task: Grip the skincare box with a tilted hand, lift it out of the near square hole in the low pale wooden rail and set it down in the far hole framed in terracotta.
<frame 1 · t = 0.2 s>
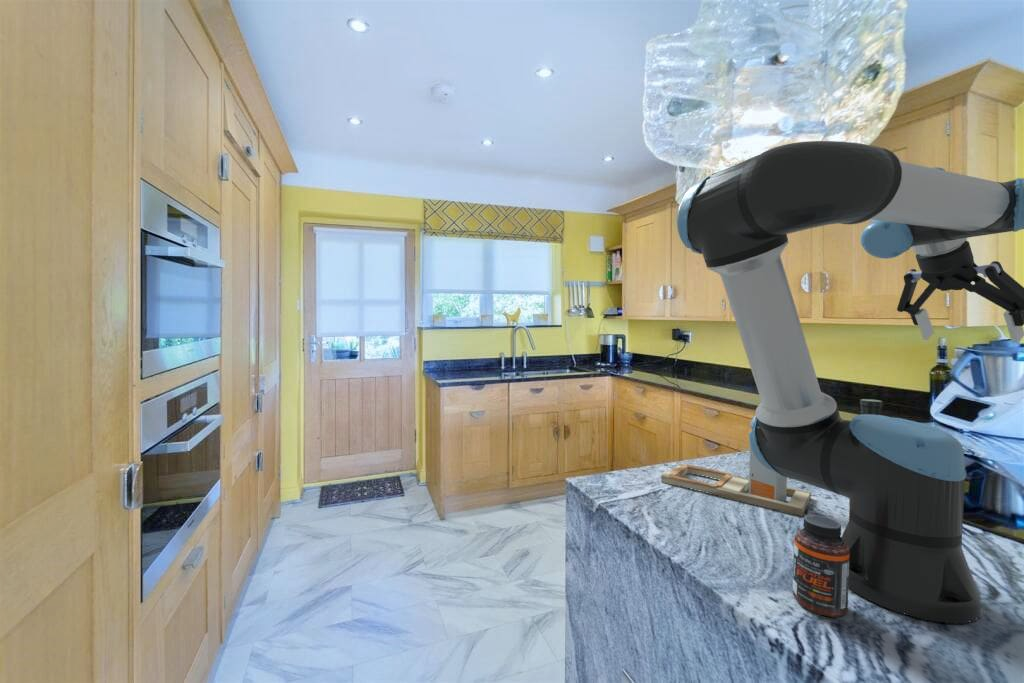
hand: (970, 337, 87), 35 cm above the worktop, tool tilted 35°, fingers open, 13 cm apart
supplement bottle: (819, 605, 56), on the worktop
skincare box: (767, 499, 92), resting in socket rail
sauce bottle: (869, 484, 100), on the worktop
socket rail: (732, 489, 96), on the worktop
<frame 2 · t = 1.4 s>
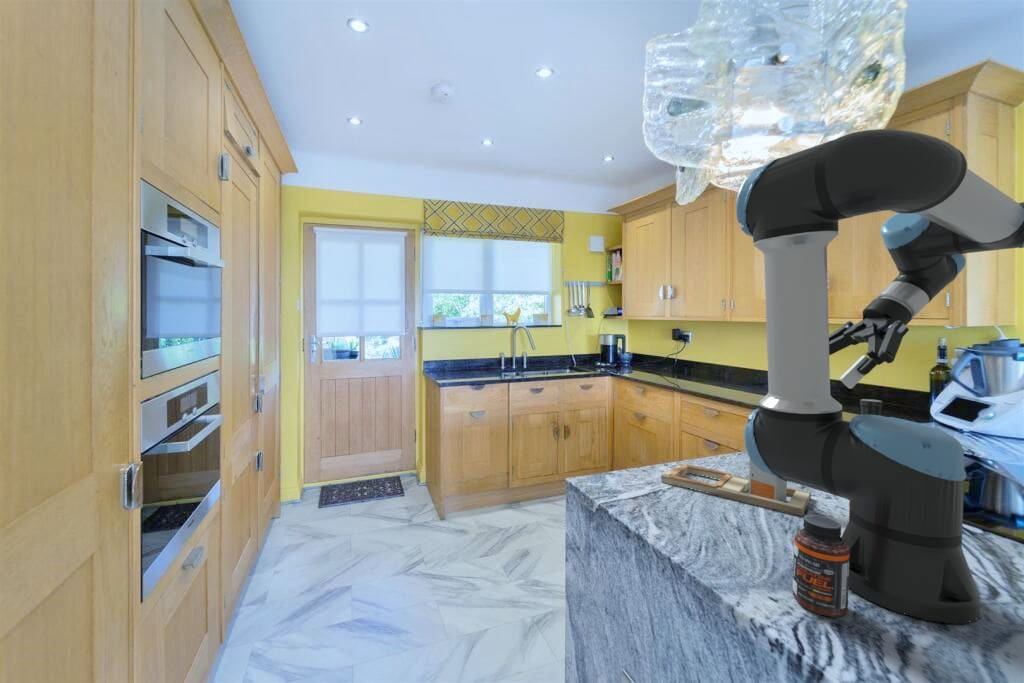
hand: (820, 379, 91), 26 cm above the worktop, tool tilted 45°, fingers open, 13 cm apart
nothing on the worktop moved.
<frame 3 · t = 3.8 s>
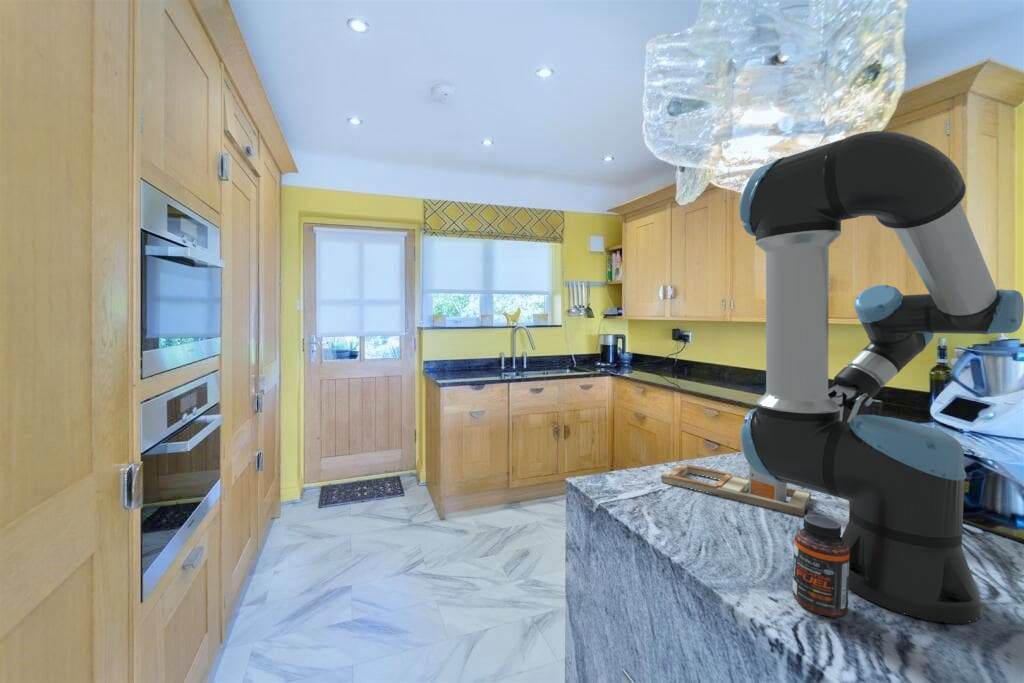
hand: (791, 446, 92), 11 cm above the worktop, tool tilted 45°, fingers open, 13 cm apart
nothing on the worktop moved.
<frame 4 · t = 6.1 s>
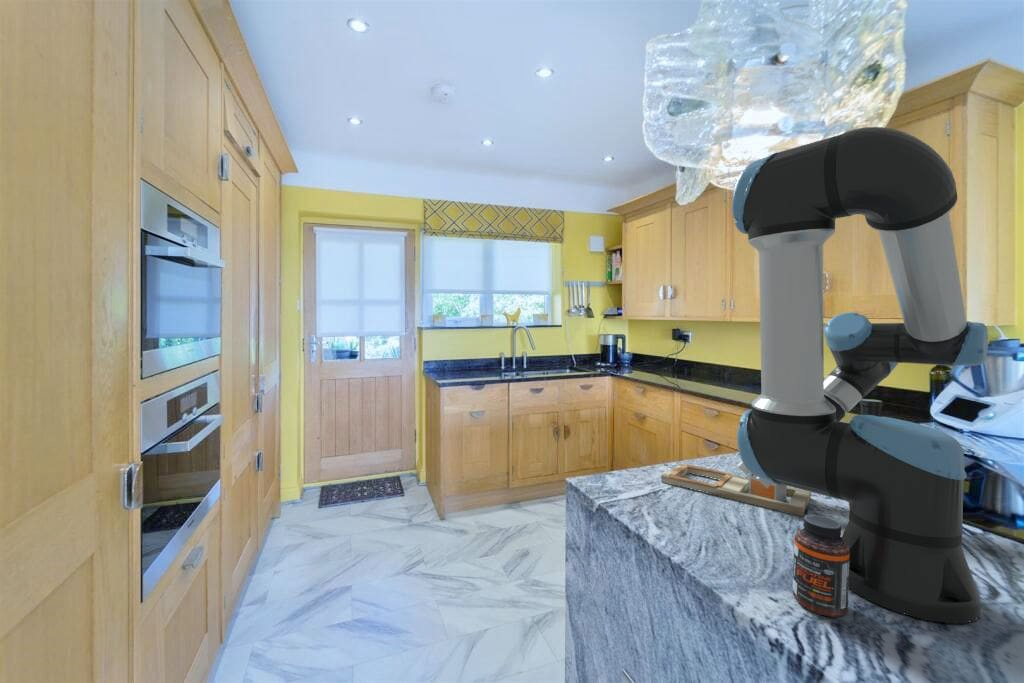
hand: (751, 476, 91), 5 cm above the worktop, tool tilted 45°, fingers closed on skincare box, 7 cm apart
skincare box: (767, 498, 92), resting in socket rail, touching gripper
everything else where it was.
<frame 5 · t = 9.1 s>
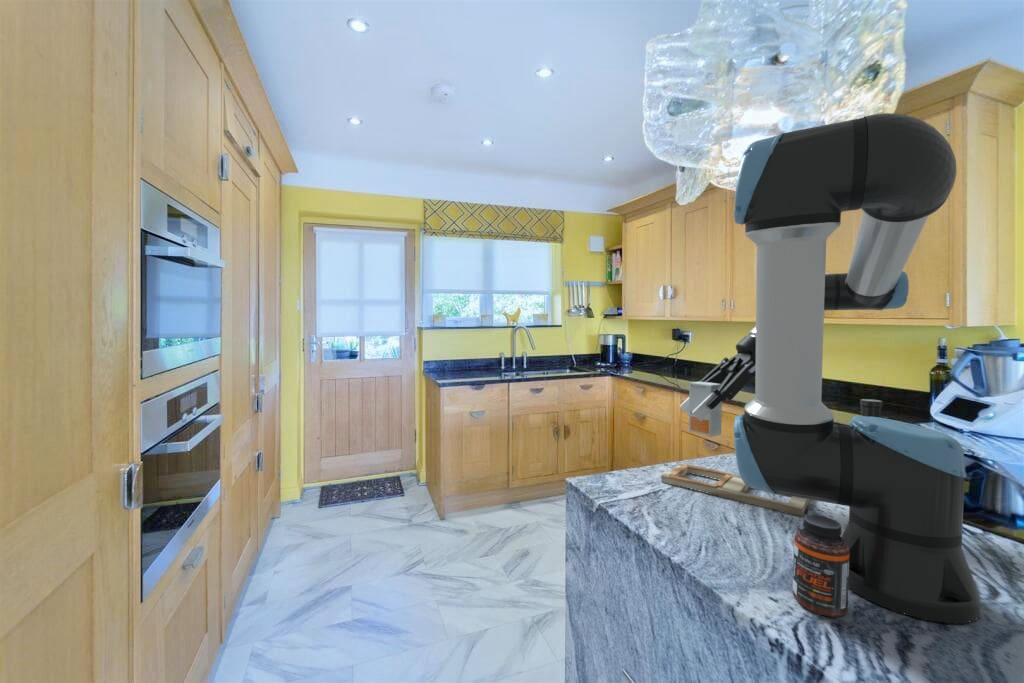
hand: (689, 413, 101), 17 cm above the worktop, tool tilted 45°, fingers closed on skincare box, 7 cm apart
skincare box: (704, 434, 101), point 12 cm above the worktop, touching gripper
everything else where it was.
when the fingers open (6 cm above the worktop, at t = 12.0 s): skincare box drops 1 cm, resting in socket rail.
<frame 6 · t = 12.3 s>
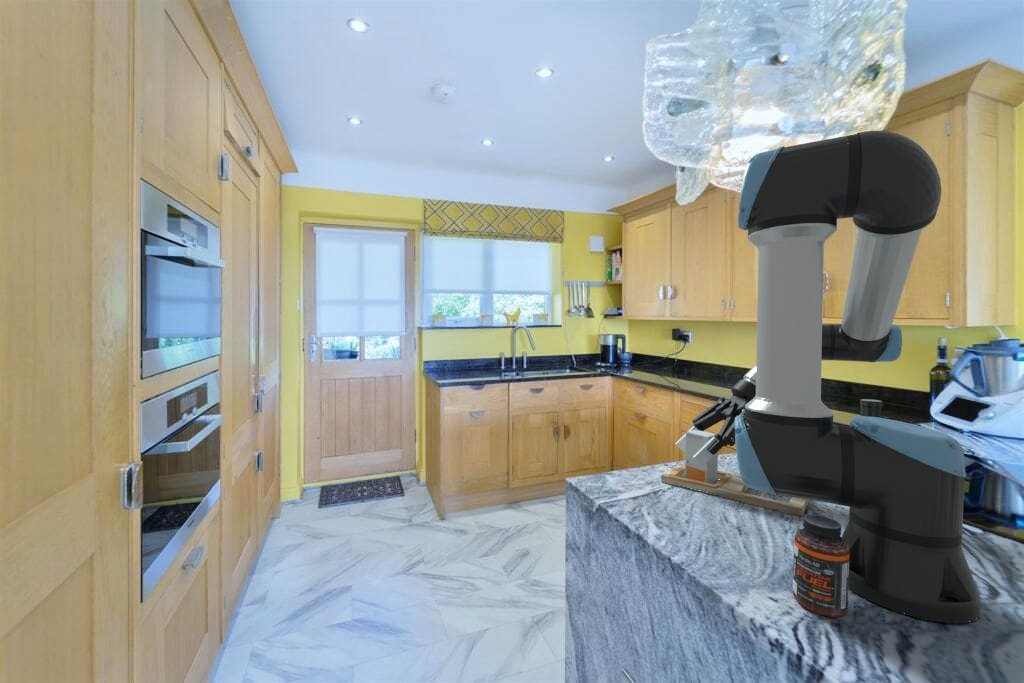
hand: (687, 454, 101), 7 cm above the worktop, tool tilted 45°, fingers open, 10 cm apart
skincare box: (700, 483, 101), resting in socket rail
everything else where it was.
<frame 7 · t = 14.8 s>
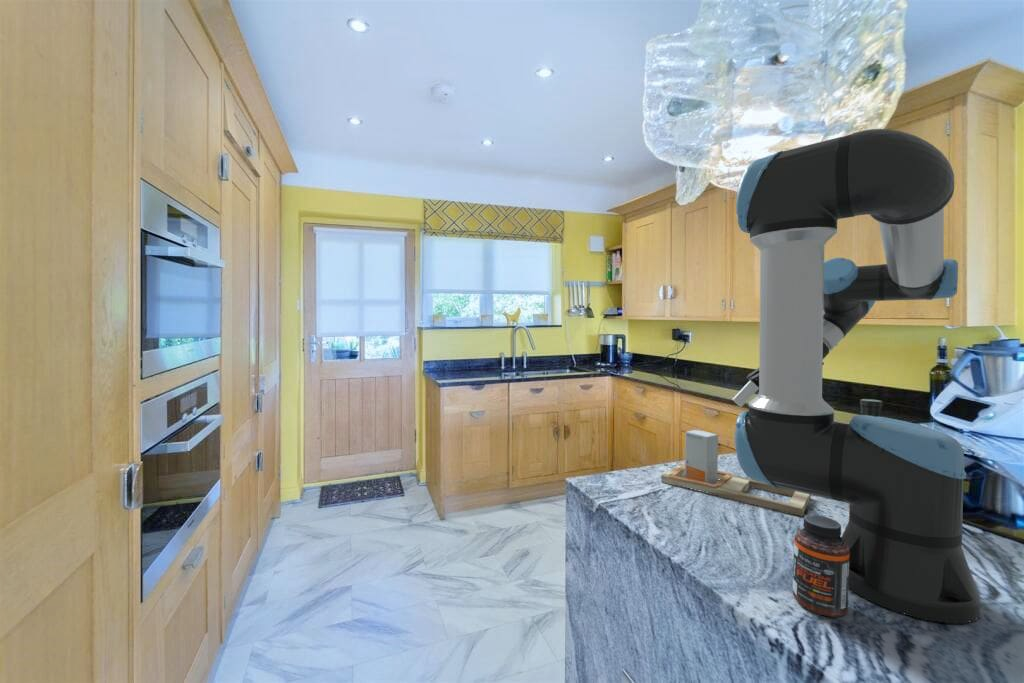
hand: (751, 408, 100), 18 cm above the worktop, tool tilted 45°, fingers open, 13 cm apart
nothing on the worktop moved.
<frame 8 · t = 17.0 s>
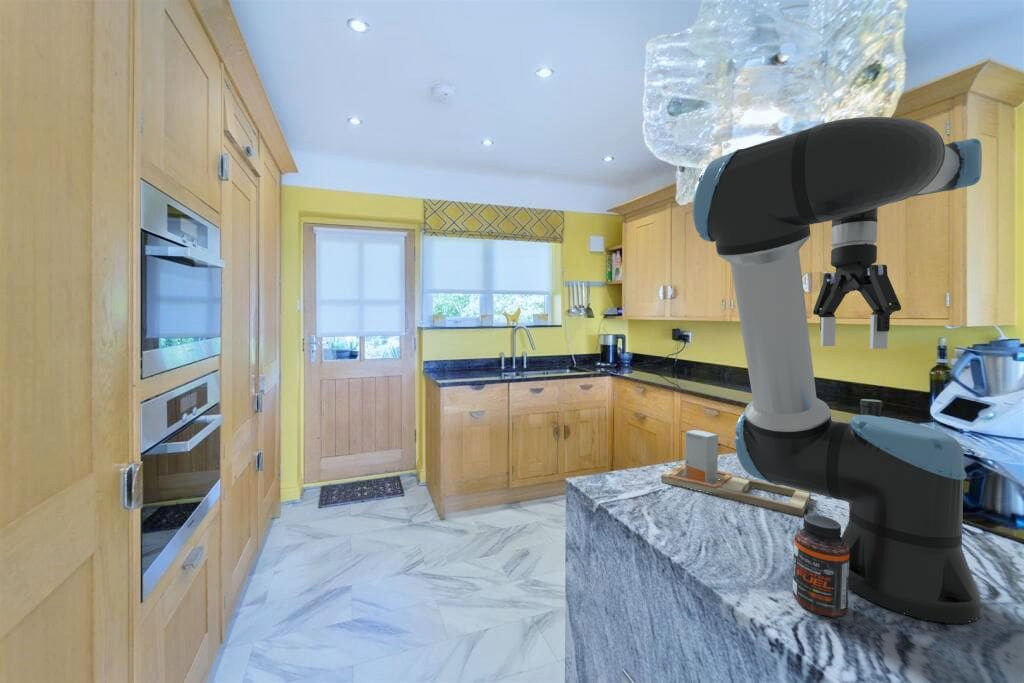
hand: (851, 347, 89), 33 cm above the worktop, tool pointing down, fingers open, 13 cm apart
nothing on the worktop moved.
at the end: skincare box 0.2 cm from the target spot on the socket rail, point 0.0 cm above the socket rail's base; skincare box tilted 0°; the gripper is holding nothing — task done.
